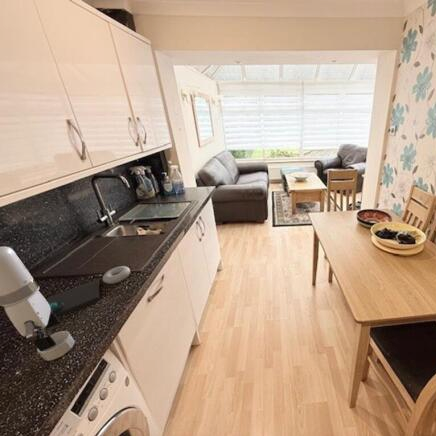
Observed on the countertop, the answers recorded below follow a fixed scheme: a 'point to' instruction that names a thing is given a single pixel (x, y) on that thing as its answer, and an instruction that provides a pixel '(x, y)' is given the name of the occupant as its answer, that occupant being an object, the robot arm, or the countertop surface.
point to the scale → (75, 298)
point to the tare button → (53, 305)
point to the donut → (116, 275)
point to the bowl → (58, 346)
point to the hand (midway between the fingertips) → (51, 336)
